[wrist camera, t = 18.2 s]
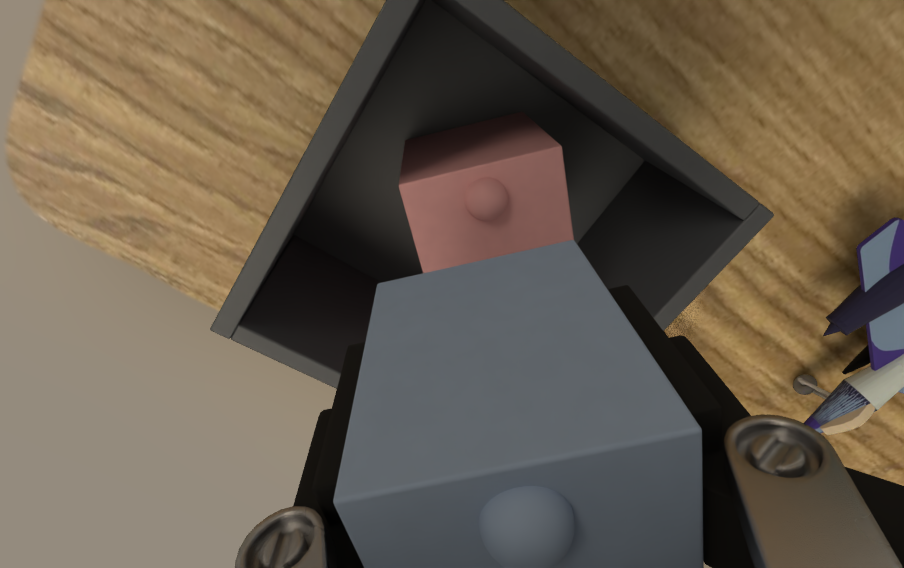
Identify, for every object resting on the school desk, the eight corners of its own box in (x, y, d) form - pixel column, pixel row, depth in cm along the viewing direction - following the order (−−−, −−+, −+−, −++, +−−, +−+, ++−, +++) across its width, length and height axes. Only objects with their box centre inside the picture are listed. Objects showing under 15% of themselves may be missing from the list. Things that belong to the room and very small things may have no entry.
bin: (276, 233, 21) (209, 330, 15) (421, -31, 17) (420, -65, 11) (496, 352, 24) (524, 477, 18) (660, 152, 21) (776, 215, 14)
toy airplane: (706, 443, 28) (744, 498, 24) (778, 189, 21) (841, 218, 18) (940, 433, 28) (1006, 485, 25) (1075, 184, 22) (1186, 210, 19)
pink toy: (404, 140, 19) (396, 191, 13) (522, 111, 19) (567, 150, 13) (433, 248, 21) (437, 333, 15) (540, 223, 21) (586, 300, 15)
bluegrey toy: (376, 282, 12) (321, 547, 6) (574, 238, 11) (731, 468, 5) (425, 431, 14) (422, 740, 8) (595, 396, 13) (726, 691, 7)
